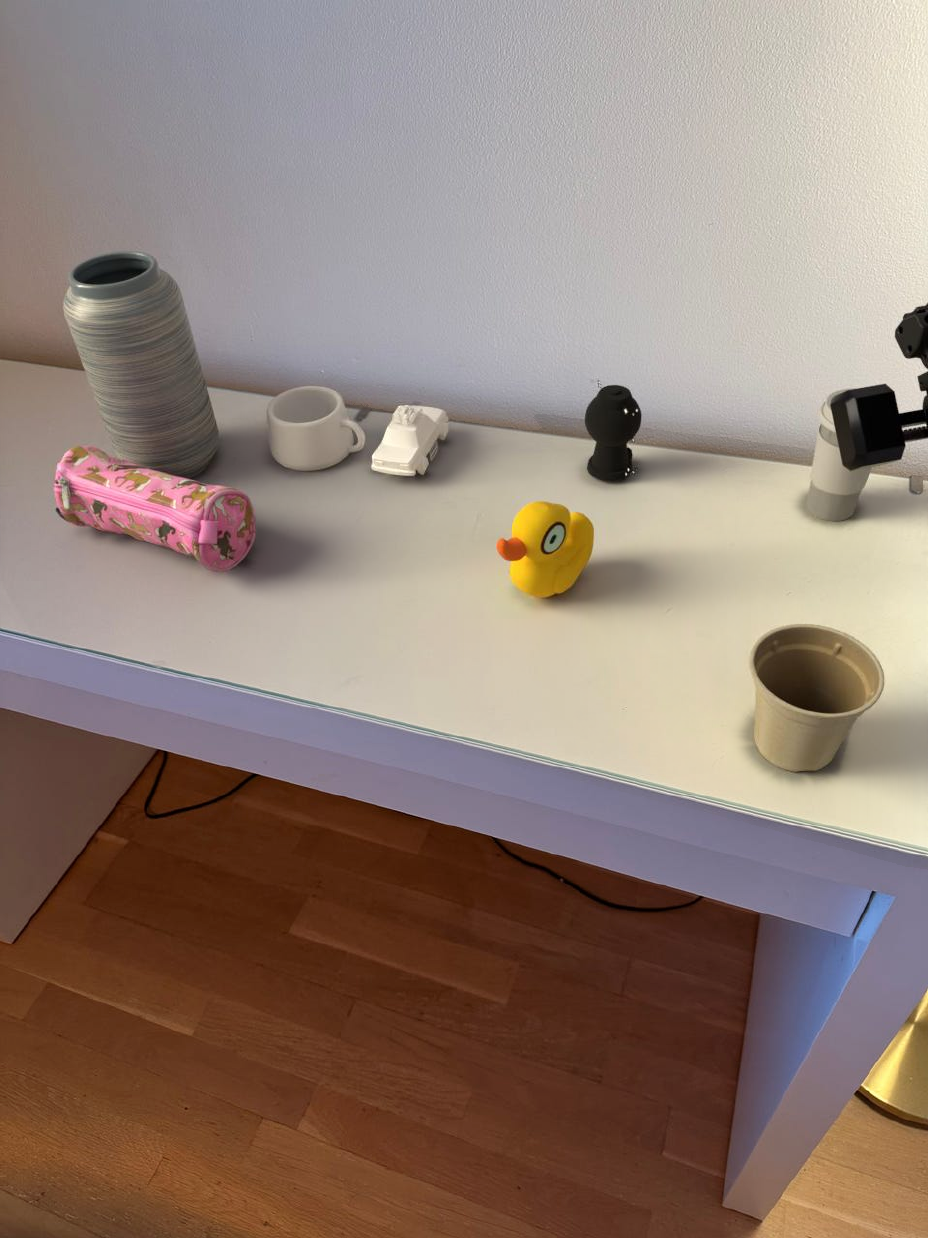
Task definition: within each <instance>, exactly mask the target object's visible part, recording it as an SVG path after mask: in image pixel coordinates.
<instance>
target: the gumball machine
mask: <svg viewBox="0 0 928 1238" xmlns="http://www.w3.org/2000/svg"><path fill="white" fill-rule="evenodd" d="M597 387H598V388H600V389H599V391H598V392H597V394H596V396H595V397H594V398H593V399H592V400H591V401H590V402H589V403H588V405H587V407H586V410H585V414H584V425H585V428H586V431H587V433H588V435H589V437H591V438H592V439H593V440H594V441H595V446H594V450H593V454H592V455H591V456H590V457H589V458H588V460H587V464H586V470H587V472H588V474H589V476H591V477H592V478H595V479H596V480H599V481H602V482H618V481H621V480H625V479H627V478H628V477H629V476H631V474H633V475H635V472H637V473H638V472H639V470H638V469H639V468H637V467H635V468H634V469H633V467H634V466H633V456H634V454H633V449H632V448H630V447H629V446H628V442H633V443H635V436H636V435H637V434H638V432H639V431H640V428H641V426H642V425H641V424H642V410H641V408H640V407H641V406H640V405H639V403H638V402H637V400H636V399H635V398H634V397H633V395H632V392H631V390H630V389H629V388H628V387H626V386H624V385H620V384H609V385H605V386H603V387H602V384H601V381H600V380H599V379H598V380H597Z"/></svg>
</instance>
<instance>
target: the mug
mask: <svg viewBox="0 0 928 1238" xmlns="http://www.w3.org/2000/svg"><path fill="white" fill-rule="evenodd" d="M265 412H266V423H267V430H268V442H269V449H270V453H271V456H272V458H273V459H274V460H275V462H277V463H278V464H280V465H281V466H282V467H284V468H286V469H290V470H293V471H299V472H300V471H301V472H315V471H319V470H324V469H328V468H330V467H333V466H336V465H338V464H339V463H340V462H342V461H344V460H345V458H347V457H348V455H349V454H350V453H357V452H360V451H361V450H362V449H363V448H364V447H365V443H366V435H365V432H364V430H363V428H362V427H361V426H360V425H359V424H357V422H355V421H353V420H351V419H349V416H348V412H347V409H346V406H345V401H344V399H343V397H342V395H341V394H340V393H339V392H338V391H336V390H334V389H332V388H329V387H325V386H318V385H305V386H299V387H298V386H297V387H294V388H291V389H288V390H286V391H283V392H281V393H279V394H277V395H276V396H275V397H273V398H272V399H271V401H270V402H269V403H267V407H266V411H265ZM353 431H354V432H353ZM354 433H355V434H356V436H357V443H356V444H354V442H355V438H354V437H355V436H354Z"/></svg>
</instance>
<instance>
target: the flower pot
mask: <svg viewBox="0 0 928 1238" xmlns="http://www.w3.org/2000/svg"><path fill="white" fill-rule="evenodd" d="M750 650H751V651H750V652H749V653H750V654H749V657H748V658H749V659H748V661H749V662H748V665H749V670H750V674H751V676H752V679H753V683H754V687H755V704H754V705H755V706H754V707H755V708H754V727H753V738H754V742H755V745H756V747H757V750H758V752H759V753H760V754H761V755H762V756H763V757H764V759H766V760H767V761H768V762H770V763H771V764H773V765H774V766H776V767H778V768H781V769H783V770H786V771H788V772H789V771H790V772H795V773H797V772H802V771H803V772H804V771H812V772H813V771H815V772H816V771H818V770H821V769H823V768H824V767H826V766H827V765H829V764H830V763H831V762H832V760H833V759H834V757H835V755H836V753H837V752H838V750H839V748H840V747H841V745H842V743H843V741H844V740H845V739H846V737H847V735H848V734H849V732H850V730H851V729H852V727H853V725H854V724H855V722H856V721H857V720H858V718H859V717H861V716H862V715H863V714H865V712H866V711H869V709H871V708H872V707H873V706H874V705H875V704H876V703H877V702H878V700H879V699H880V698H881V695H882V693H883V691H884V689H885V688H884V687H885V672H884V669H883V667H882V664H881V662H880V661H879V659H878V657H877V656H876V654H875V653H873V651H872V650H871V649H870V648H869V647H868V646H866V645H865V644H864V642H861V641H860V640H859V639H857V638H855V637H854V636H853V635H849V634H848V633H846V632H844V631H841V630H838V629H835V628H831V627H828V626H824V625H819V624H811V623H794V624H787V625H783V626H779V627H776V628H773V629H771V630H769V631H767V632H766V633H764V634H763V635H761V636H760V637H759V638H758V639H757V640H756V641H755V642H754V644H753V646H752V648H751V649H750Z"/></svg>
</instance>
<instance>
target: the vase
mask: <svg viewBox="0 0 928 1238" xmlns="http://www.w3.org/2000/svg"><path fill="white" fill-rule="evenodd" d="M67 280H68V283H69V287H68V288H67V291H66V292H65V295H64V299H63V302H62V308H63V315H64V318H65V320H66V323H67V327H68V329H69V331H70V334H71V336H72V339H73V342H74V345H75V348H76V350H77V353H78V356H79V359H80V361H81V364H82V367H83V371H84V372H85V374H86V378H87V380H88V384H89V386H90V389H91V391H92V394H93V396H94V400H95V403H96V405H97V409H98V411H99V413H100V416H101V419H102V421H103V424H104V427H105V429H106V432H107V435H108V438H109V441H110V442H111V446H112V449H113V451H114V454H115V458H119V459H122V460H125V461H128V462H131V463H134V464H137V465H140V466H143V467H146V468H148V469H151V470H154V471H159V472H163V473H166V474H169V475H173V476H177V477H182V478H186V479H192V478H194V477H197V476H198V475H199V474H201V473H202V472H203V471H205V470H206V469H207V468H208V466H209V465H210V463H211V461H212V458H213V457H214V455H215V453H216V451H217V449H218V446H219V443H220V431H219V427H218V424H217V420H216V417H215V413H214V409H213V405H212V402H211V397H210V394H209V390H208V387H207V383H206V379H205V376H204V372H203V367H202V365H201V361H200V358H199V354H198V353H199V352H198V349H197V346H196V342H195V339H194V338H195V337H194V335H193V331H192V327H191V324H190V320H189V317H188V313H187V308H186V306H185V302H184V297H183V293H182V291H181V288H180V286H179V284H178V282H177V281H176V280H175V278H173V276H171V275H170V274H169V272H167V271H166V270H165V269H164V270H163V269H162V268H160V267H159V262H158V260H157V259H156V258H155V257H154V256H153V255H151V254H149V253H146V252H142V251H137V250H121V251H113V252H107V253H102V254H99V255H95V256H92V257H90V258H87V259H84V260H83V261H81V262H79V263H78V264H76V265H75V266H73V267H72V268H71V269H70V271H69V272H68V276H67Z"/></svg>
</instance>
